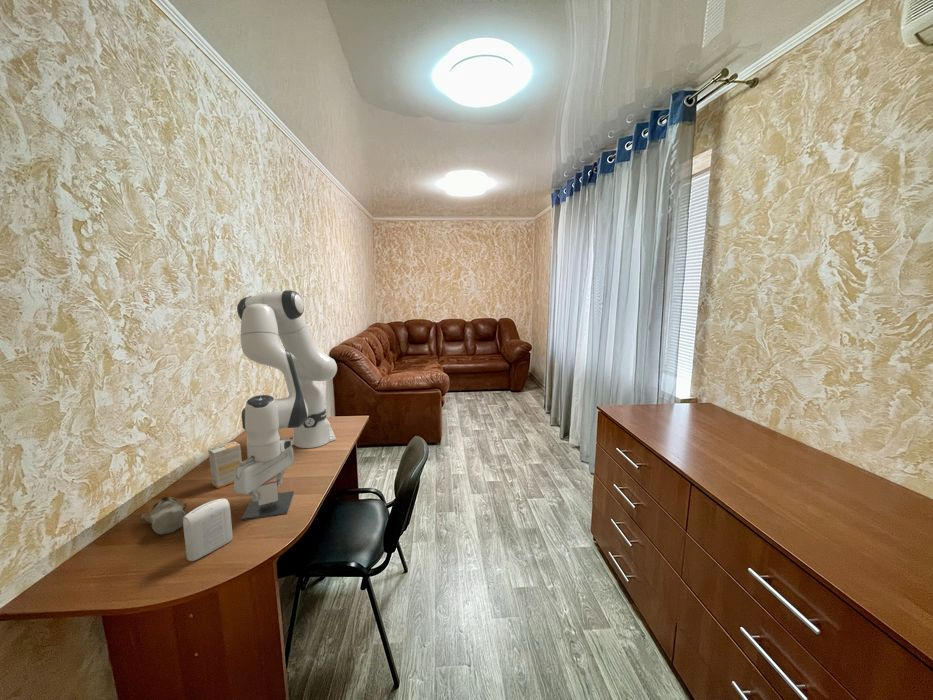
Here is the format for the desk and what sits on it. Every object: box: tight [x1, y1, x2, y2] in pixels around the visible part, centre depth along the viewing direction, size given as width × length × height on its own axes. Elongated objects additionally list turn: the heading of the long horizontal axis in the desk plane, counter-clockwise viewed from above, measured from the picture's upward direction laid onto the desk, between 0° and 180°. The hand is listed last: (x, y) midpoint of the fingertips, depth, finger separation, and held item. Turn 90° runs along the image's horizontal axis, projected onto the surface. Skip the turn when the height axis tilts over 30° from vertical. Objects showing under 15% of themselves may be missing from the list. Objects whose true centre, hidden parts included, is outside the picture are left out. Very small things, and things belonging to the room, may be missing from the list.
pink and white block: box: [256, 476, 279, 505], centre depth 112 cm, size 5×5×7 cm
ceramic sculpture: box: [139, 496, 188, 536], centre depth 102 cm, size 11×9×15 cm
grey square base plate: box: [241, 490, 295, 521], centre depth 112 cm, size 12×12×6 cm
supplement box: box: [208, 441, 243, 489], centre depth 125 cm, size 8×5×13 cm, turn 145°
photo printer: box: [182, 498, 234, 562], centre depth 93 cm, size 10×4×12 cm, turn 152°
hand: (267, 492), depth 112 cm, fingers closed on pink and white block, 7 cm apart
